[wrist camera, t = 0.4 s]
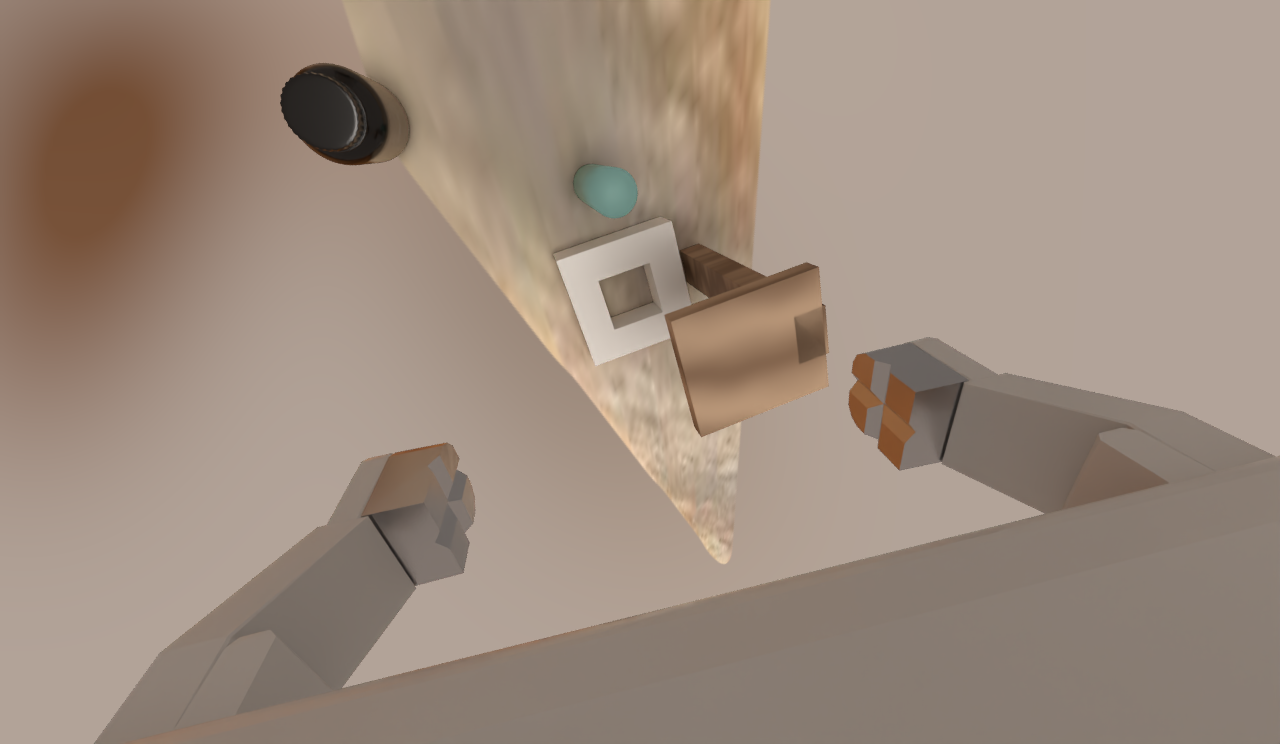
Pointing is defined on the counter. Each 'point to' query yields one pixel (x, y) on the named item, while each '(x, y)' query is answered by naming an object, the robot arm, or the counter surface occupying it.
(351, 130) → the supplement bottle
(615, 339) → the socket
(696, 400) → the brown wooden overhang stand
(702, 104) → the counter surface
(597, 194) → the peg
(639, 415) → the counter surface
